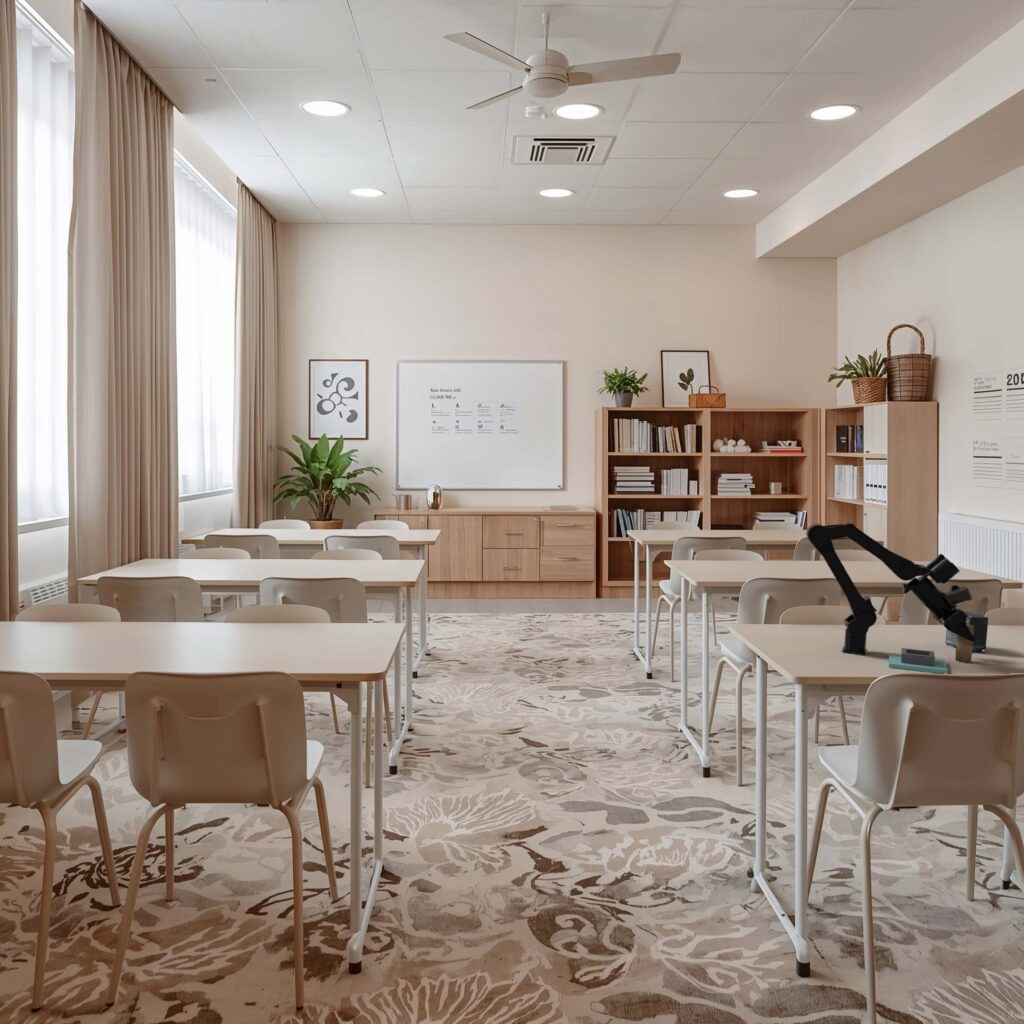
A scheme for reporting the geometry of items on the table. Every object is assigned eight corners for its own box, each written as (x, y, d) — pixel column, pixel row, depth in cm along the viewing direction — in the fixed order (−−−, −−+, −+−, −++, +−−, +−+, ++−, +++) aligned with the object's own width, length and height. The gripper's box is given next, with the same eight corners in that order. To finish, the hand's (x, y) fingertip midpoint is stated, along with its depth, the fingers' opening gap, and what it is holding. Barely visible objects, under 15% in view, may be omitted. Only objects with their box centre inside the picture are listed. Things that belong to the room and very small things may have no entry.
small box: (987, 652, 261) (990, 616, 260) (967, 652, 260) (970, 616, 259) (963, 644, 272) (966, 610, 271) (944, 644, 271) (946, 610, 270)
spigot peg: (954, 658, 251) (957, 623, 250) (970, 660, 249) (973, 625, 249) (955, 661, 247) (958, 625, 246) (971, 663, 246) (974, 627, 245)
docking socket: (888, 657, 250) (889, 644, 250) (944, 663, 245) (945, 650, 244) (888, 667, 237) (889, 654, 237) (947, 674, 232) (948, 661, 231)
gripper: (961, 580, 239) (1004, 625, 237) (946, 572, 257) (986, 613, 255) (927, 607, 241) (969, 652, 239) (914, 597, 259) (953, 638, 257)
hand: (970, 637), depth 247 cm, fingers open, 7 cm apart
